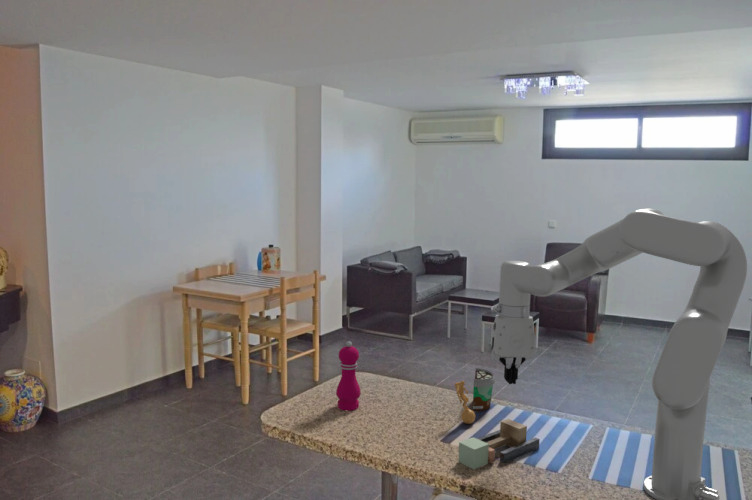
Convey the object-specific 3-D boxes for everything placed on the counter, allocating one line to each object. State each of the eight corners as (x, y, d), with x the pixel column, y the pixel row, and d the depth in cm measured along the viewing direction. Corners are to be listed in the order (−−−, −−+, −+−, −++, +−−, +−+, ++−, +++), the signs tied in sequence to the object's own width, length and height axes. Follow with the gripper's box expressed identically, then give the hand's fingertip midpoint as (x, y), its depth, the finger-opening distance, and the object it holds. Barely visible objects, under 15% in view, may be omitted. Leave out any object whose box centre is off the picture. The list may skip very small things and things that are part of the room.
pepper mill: (332, 409, 181) (333, 343, 178) (341, 401, 187) (341, 337, 185) (355, 412, 179) (356, 345, 176) (363, 404, 185) (364, 339, 183)
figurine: (471, 429, 168) (473, 387, 166) (450, 426, 170) (451, 384, 168) (477, 418, 175) (479, 378, 174) (457, 415, 178) (458, 375, 176)
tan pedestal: (526, 447, 156) (527, 426, 156) (490, 463, 148) (491, 440, 147) (506, 439, 161) (507, 418, 161) (470, 453, 153) (470, 431, 152)
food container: (493, 415, 179) (495, 381, 178) (472, 413, 180) (473, 379, 179) (494, 400, 191) (495, 368, 190) (474, 398, 192) (475, 367, 191)
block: (487, 463, 148) (488, 444, 148) (474, 469, 145) (474, 449, 144) (472, 456, 152) (473, 437, 151) (458, 462, 149) (459, 442, 148)
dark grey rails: (539, 448, 157) (539, 439, 157) (503, 463, 148) (504, 453, 148) (508, 435, 164) (508, 426, 164) (472, 449, 156) (473, 439, 155)
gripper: (489, 314, 148) (486, 388, 150) (548, 314, 150) (544, 386, 152) (480, 307, 155) (477, 378, 158) (536, 307, 157) (533, 376, 160)
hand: (510, 382), depth 155 cm, fingers closed
